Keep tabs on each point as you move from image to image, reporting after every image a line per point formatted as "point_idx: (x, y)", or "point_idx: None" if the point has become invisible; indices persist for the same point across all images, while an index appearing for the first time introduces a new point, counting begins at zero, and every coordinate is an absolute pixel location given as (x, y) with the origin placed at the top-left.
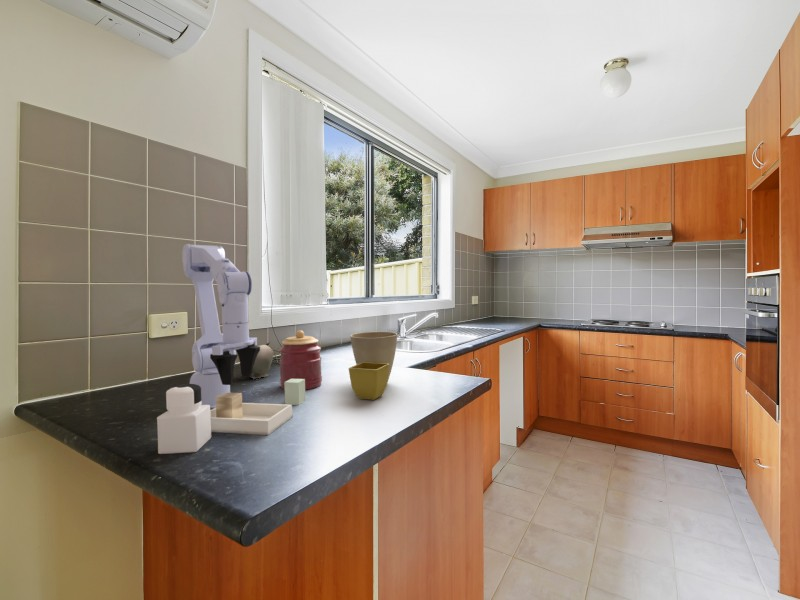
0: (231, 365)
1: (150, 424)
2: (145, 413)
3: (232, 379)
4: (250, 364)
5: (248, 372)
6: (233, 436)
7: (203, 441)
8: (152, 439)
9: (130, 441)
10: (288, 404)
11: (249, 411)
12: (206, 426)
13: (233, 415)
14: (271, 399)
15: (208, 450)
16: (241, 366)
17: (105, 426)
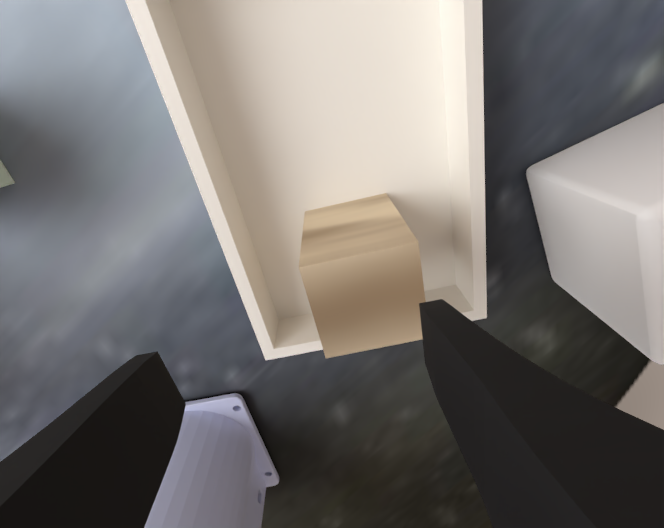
0: (611, 423)
1: (438, 447)
2: (365, 519)
3: (440, 318)
4: (77, 454)
5: (144, 391)
6: (491, 82)
7: (624, 127)
8: (552, 348)
9: None
10: (1, 161)
11: (244, 229)
12: (627, 155)
13: (383, 207)
14: (17, 303)
15: (656, 60)
16: (148, 499)
17: (475, 513)
